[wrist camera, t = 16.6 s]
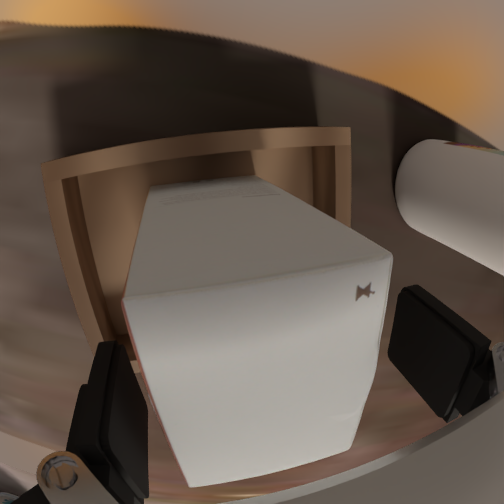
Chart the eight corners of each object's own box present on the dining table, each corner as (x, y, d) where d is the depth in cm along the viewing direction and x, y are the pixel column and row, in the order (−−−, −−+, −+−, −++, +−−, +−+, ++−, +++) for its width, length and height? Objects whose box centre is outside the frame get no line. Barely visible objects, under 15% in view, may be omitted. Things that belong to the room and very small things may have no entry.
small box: (147, 184, 17) (113, 294, 6) (256, 173, 19) (402, 249, 7) (167, 309, 20) (187, 492, 9) (262, 295, 22) (356, 449, 10)
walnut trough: (318, 126, 20) (350, 127, 16) (319, 302, 25) (343, 330, 21) (64, 156, 16) (40, 163, 13) (108, 340, 21) (102, 376, 18)
